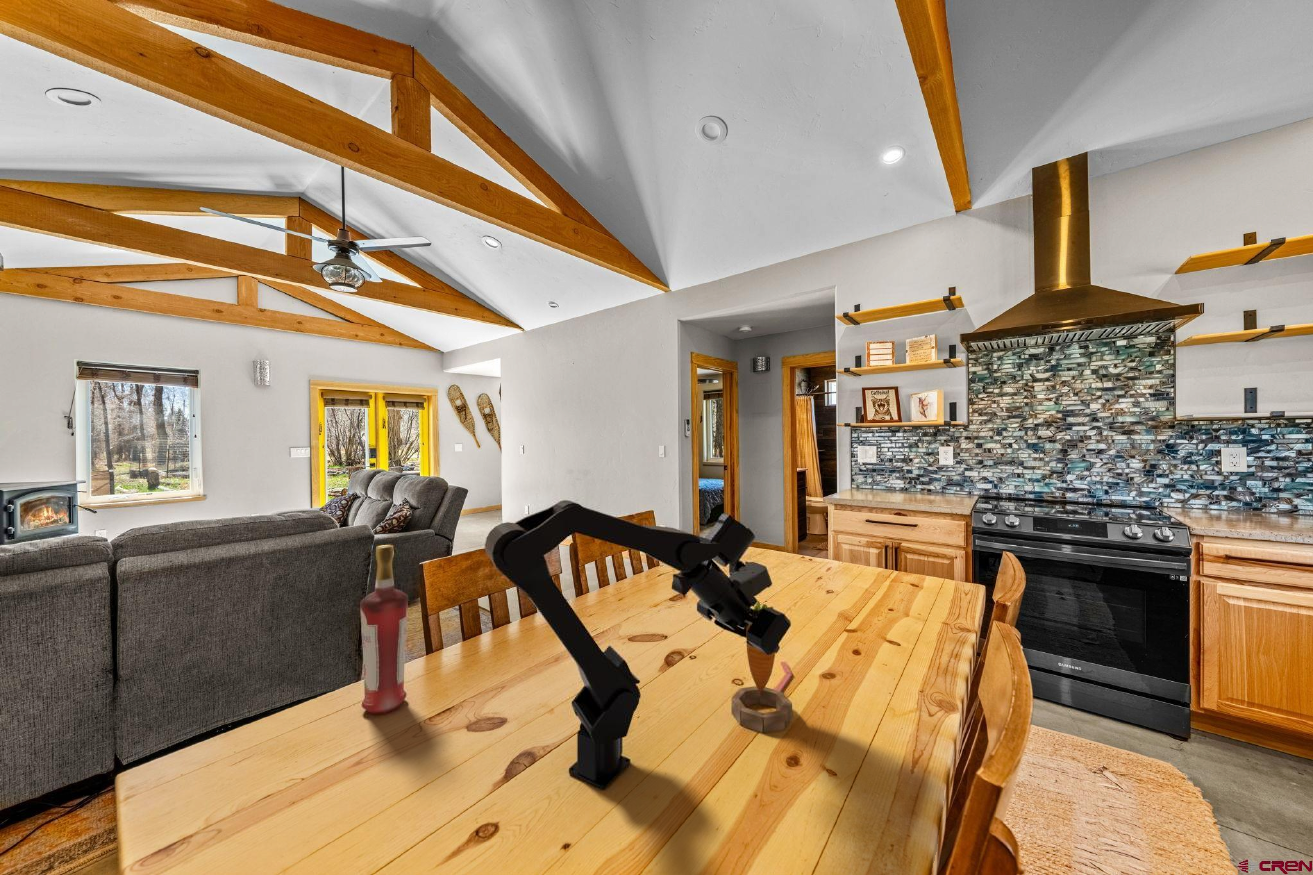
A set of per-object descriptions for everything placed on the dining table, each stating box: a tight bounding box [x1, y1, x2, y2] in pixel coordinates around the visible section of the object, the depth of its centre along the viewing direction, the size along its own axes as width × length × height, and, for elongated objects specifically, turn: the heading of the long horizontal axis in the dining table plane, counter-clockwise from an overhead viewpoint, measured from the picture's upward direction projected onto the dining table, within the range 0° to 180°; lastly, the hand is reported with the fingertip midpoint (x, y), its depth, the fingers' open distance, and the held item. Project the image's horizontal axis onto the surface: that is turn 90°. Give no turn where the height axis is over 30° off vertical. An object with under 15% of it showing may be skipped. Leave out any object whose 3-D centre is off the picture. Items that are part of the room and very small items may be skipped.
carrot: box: [745, 600, 776, 691], centre depth 83 cm, size 5×5×15 cm
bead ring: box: [730, 685, 793, 734], centre depth 83 cm, size 9×9×2 cm
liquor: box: [359, 544, 409, 715], centre depth 85 cm, size 7×7×28 cm
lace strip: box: [774, 661, 793, 692], centre depth 94 cm, size 16×3×1 cm, turn 149°
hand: (767, 644), depth 84 cm, fingers closed on carrot, 5 cm apart
